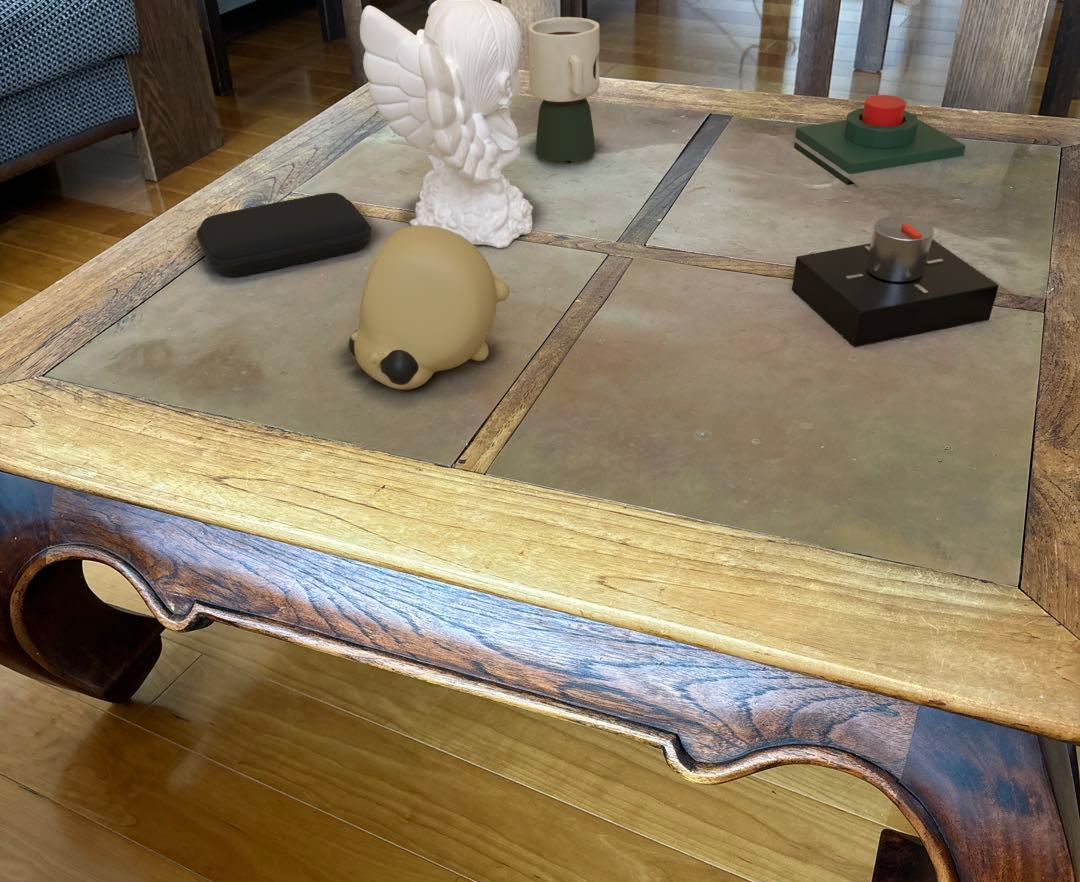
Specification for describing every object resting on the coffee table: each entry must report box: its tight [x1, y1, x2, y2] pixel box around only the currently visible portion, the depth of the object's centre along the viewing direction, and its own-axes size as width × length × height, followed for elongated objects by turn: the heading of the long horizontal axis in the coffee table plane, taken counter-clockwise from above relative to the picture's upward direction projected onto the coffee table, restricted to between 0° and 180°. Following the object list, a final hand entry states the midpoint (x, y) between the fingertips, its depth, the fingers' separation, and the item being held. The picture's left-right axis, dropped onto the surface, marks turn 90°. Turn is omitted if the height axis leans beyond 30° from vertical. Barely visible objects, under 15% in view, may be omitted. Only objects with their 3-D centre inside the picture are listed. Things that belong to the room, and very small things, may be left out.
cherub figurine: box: [359, 0, 534, 249], centre depth 89 cm, size 13×12×20 cm
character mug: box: [527, 16, 601, 164], centre depth 105 cm, size 11×7×13 cm, turn 14°
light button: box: [862, 94, 907, 126], centre depth 103 cm, size 4×4×2 cm
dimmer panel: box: [791, 238, 1000, 348], centre depth 82 cm, size 12×10×3 cm
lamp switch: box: [793, 107, 966, 186], centre depth 105 cm, size 13×11×4 cm
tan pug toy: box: [348, 225, 510, 390], centre depth 75 cm, size 10×12×11 cm
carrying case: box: [195, 192, 373, 278], centre depth 93 cm, size 11×3×15 cm
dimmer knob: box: [866, 215, 935, 282], centre depth 80 cm, size 4×4×4 cm
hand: (903, 1), depth 97 cm, fingers closed
